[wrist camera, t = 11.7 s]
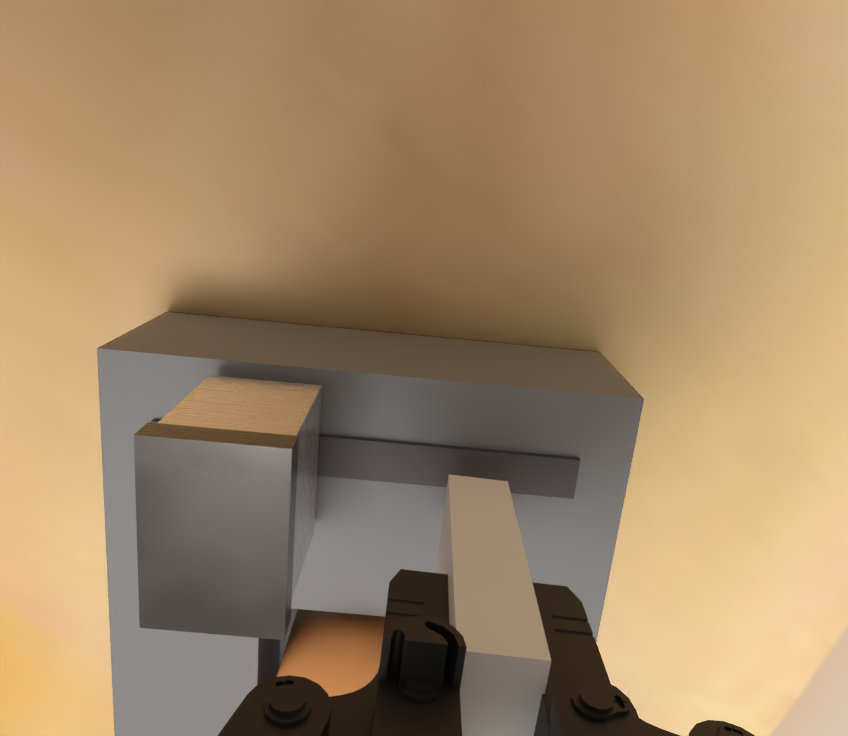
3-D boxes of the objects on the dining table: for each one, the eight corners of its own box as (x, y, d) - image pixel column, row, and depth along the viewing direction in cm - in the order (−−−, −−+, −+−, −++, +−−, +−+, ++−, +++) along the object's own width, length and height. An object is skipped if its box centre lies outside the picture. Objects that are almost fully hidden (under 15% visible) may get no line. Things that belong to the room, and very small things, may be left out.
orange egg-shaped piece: (292, 676, 25) (249, 828, 19) (297, 567, 23) (252, 695, 18) (416, 686, 25) (411, 842, 19) (428, 578, 23) (427, 710, 18)
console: (175, 907, 31) (112, 1089, 25) (167, 311, 23) (70, 362, 17) (499, 933, 31) (516, 1120, 25) (600, 352, 23) (660, 416, 17)
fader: (205, 524, 19) (139, 627, 15) (206, 371, 18) (133, 434, 14) (317, 534, 19) (284, 640, 15) (325, 382, 18) (292, 449, 14)
